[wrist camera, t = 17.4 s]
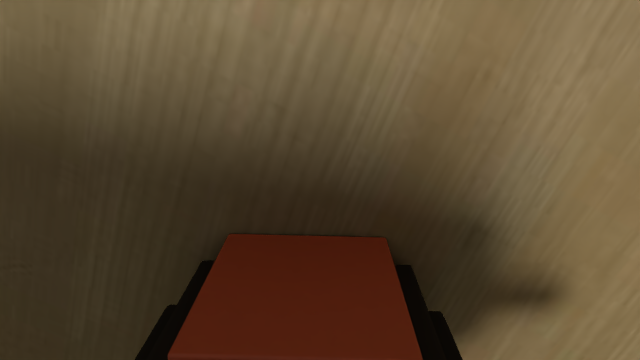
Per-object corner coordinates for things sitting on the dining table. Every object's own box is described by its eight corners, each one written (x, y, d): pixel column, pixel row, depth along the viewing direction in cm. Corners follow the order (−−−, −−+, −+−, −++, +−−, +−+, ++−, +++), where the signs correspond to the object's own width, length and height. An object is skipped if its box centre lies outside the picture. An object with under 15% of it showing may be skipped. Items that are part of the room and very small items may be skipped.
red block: (236, 355, 12) (190, 520, 8) (228, 232, 11) (165, 355, 7) (375, 359, 12) (401, 526, 8) (386, 236, 11) (425, 362, 7)
